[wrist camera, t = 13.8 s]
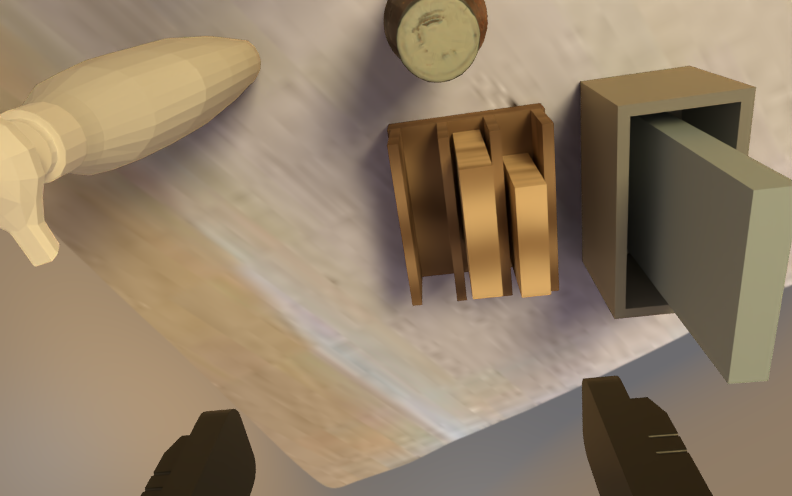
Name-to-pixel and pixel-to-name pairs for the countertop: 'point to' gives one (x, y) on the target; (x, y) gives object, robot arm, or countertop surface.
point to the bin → (609, 165)
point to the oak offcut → (478, 213)
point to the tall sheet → (711, 239)
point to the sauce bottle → (436, 35)
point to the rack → (439, 193)
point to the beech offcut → (527, 224)
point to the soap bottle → (111, 120)
